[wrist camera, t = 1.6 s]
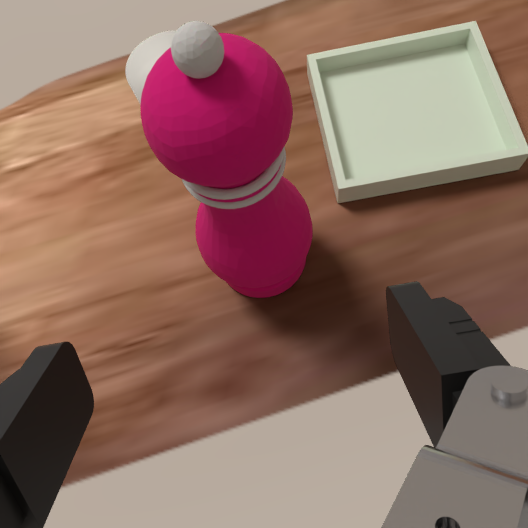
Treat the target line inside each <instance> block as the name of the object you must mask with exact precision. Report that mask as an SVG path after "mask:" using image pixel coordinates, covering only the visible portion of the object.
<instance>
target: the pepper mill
mask: <svg viewBox="0 0 528 528" xmlns="http://www.w3.org/2000/svg"><path fill="white" fill-rule="evenodd" d="M292 115H293V108H292V101H291V95H290V90H289V87H288V84H287V82H286V80H285V77H284V75H283V73H282V71H281V69H280V67H279V66H278V64H277V63H276V61H275V60H274V59H273V58H272V57H271V56H270V55H269V54H268V53H267V52H266V51H265V50H264V49H263V48H262V47H260V46H259V45H257V44H255V43H253V42H251V41H250V40H248V39H246V38H244V37H241V36H237V35H233V34H228V33H218V32H217V31H216V29H215V28H213V27H212V26H211V25H209V24H207V23H205V22H201V21H191V22H188V23H185V24H184V25H182V26H181V27H180V28H179V29H178V30H177V31H176V33H175V35H174V36H173V38H172V44H171V48H169V49H168V50H166V51H165V52H164V53H163V54H162V55H161V56H160V58H159V59H158V60H157V61H156V62H155V64H154V66H153V67H152V69H151V71H150V72H149V74H148V75H147V78H146V81H145V84H144V88H143V91H142V96H141V119H142V125H143V129H144V133H145V136H146V139H147V141H148V143H149V146H150V147H151V149H152V151H153V152H154V154H155V155H156V157H157V158H158V160H159V161H160V162H161V163H162V164H163V165H164V166H165V167H166V168H167V169H168V170H169V171H170V172H172V173H173V174H175V175H176V176H178V177H180V178H181V179H182V181H183V183H184V185H185V187H186V189H187V190H188V191H189V192H190V193H191V194H192V195H193V196H194V197H195V198H196V199H197V200H199V201H200V202H201V203H200V206H199V209H198V213H197V219H196V240H197V244H198V247H199V250H200V252H201V255H202V257H203V259H204V261H205V262H206V264H207V266H208V267H209V268H210V269H211V270H212V271H213V272H214V273H215V274H216V275H217V276H218V277H220V278H221V279H223V280H225V281H226V282H227V283H228V284H229V285H230V286H231V287H232V288H233V289H234V290H236V291H237V292H239V293H241V294H243V295H246V296H249V297H256V298H266V297H271V296H275V295H278V294H280V293H282V292H284V291H286V290H287V289H288V288H290V287H291V286H292V285H293V284H294V283H295V282H296V281H297V280H298V279H299V277H300V275H301V274H302V272H303V269H304V267H305V263H306V256H307V254H308V251H309V249H310V246H311V241H312V221H311V217H310V213H309V210H308V206H307V204H306V202H305V200H304V199H303V197H302V196H301V194H300V193H299V191H298V190H297V189H296V187H295V186H294V185H293V184H292V183H291V182H290V181H288V180H287V179H286V178H284V177H283V176H282V175H283V172H284V168H285V162H286V152H285V148H284V146H285V144H286V142H287V140H288V138H289V133H290V128H291V123H292Z"/></svg>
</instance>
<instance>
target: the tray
mask: <svg viewBox="0 0 528 528" xmlns="http://www.w3.org/2000/svg"><path fill="white" fill-rule="evenodd" d="M307 74H308V79H309V83H310V87H311V92H312V96H313V100H314V105H315V109H316V113H317V117H318V122H319V126H320V130H321V135H322V139H323V143H324V147H325V152H326V156H327V160H328V165H329V169H330V173H331V178H332V182H333V186H334V190H335V195H336V199H337V203H342V202H348V201H353V200H359V199H364V198H369V197H375V196H380V195H385V194H391V193H396V192H402V191H407V190H412V189H418V188H423V187H429V186H434V185H439V184H445V183H450V182H455V181H461V180H466V179H472V178H477V177H482V176H488V175H493V174H499V173H504V172H509V171H515V170H519V169H520V167H521V166H522V165H523V163H524V162H525V160H526V159H527V158H528V145H527V143H526V140H525V138H524V136H523V133H522V131H521V129H520V126H519V124H518V121H517V119H516V117H515V114H514V112H513V109H512V107H511V105H510V102H509V100H508V97H507V95H506V93H505V90H504V88H503V85H502V83H501V81H500V78H499V76H498V73H497V71H496V69H495V66H494V64H493V61H492V59H491V57H490V54H489V52H488V49H487V47H486V45H485V42H484V40H483V37H482V35H481V33H480V30H479V28H478V25H477V23H476V21H473V22H468V23H463V24H458V25H453V26H448V27H443V28H438V29H433V30H428V31H423V32H419V33H414V34H409V35H404V36H399V37H394V38H389V39H384V40H379V41H374V42H369V43H364V44H359V45H354V46H349V47H344V48H339V49H334V50H329V51H324V52H319V53H315V54H310V55H307Z"/></svg>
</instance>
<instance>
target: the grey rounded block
mask: <svg viewBox="0 0 528 528" xmlns="http://www.w3.org/2000/svg"><path fill="white" fill-rule="evenodd" d="M176 31H177V30H174V31H165V32H161V33H158V34H155V35H153V36H151V37H149V38H147V39H145V40H144V41H143V42H141V43H140V44H139V45H138V46H137V47H136V48H135V49H134V50H133V52H132V53H131V55H130V56H129V58H128V61H127V64H126V78H127V81H128V83H129V85H130V87H131V89H132V90H133V92H134V94H135V96H136V98H137V99H138V101H139V103H140V105H141V96H142V91H143V88H144V84H145V81H146V78H147V75H148V74H149V72H150V71H151V69H152V67H153V66H154V64H155V62H156V61H157V60H158V59H159V58H160V56H161V55H162V54H163V53H164V52H165V51H166V50H168V49H169V48H171V44H172V38H173V36H174V35H175V33H176Z"/></svg>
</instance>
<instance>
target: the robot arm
mask: <svg viewBox="0 0 528 528" xmlns="http://www.w3.org/2000/svg"><path fill="white" fill-rule="evenodd" d="M386 300H387V311H388V322H389V334H390V343H391V349H392V353H393V357H394V360H395V363H396V366H397V368H398V370H399V372H400V374H401V377H402V379H403V381H404V383H405V385H406V387H407V389H408V392H409V394H410V396H411V398H412V400H413V402H414V405H415V407H416V409H417V411H418V413H419V415H420V418H421V420H422V422H423V424H424V426H425V428H426V430H427V433H428V435H429V437H430V439H431V441H432V443H433V445H434V447H432V446H429V445H425V446H424V447H423V448H422V449H421V450H420V452H419V453H418V455H417V457H416V459H415V461H414V463H413V465H412V467H411V469H410V471H409V473H408V475H407V477H406V479H405V481H404V483H403V485H402V487H401V489H400V491H399V493H398V495H397V497H396V500H395V501H394V503H393V505H392V507H391V509H390V511H389V513H388V515H387V518H386V519H385V521H384V523H383V525H382V528H528V370H525V369H522V368H517V367H512V366H510V364H509V363H508V362H507V361H506V360H505V358H504V357H503V356H502V355H501V354H500V352H499V351H498V350H497V349H496V347H495V346H494V345H493V344H492V343H491V341H490V340H489V339H488V338H487V337H486V335H485V334H484V333H483V332H481V331H480V328H479V327H478V326H477V324H476V323H475V322H474V321H472V318H471V317H470V316H469V315H468V314H467V312H466V311H465V310H464V309H463V307H462V306H460V305H458V304H456V303H454V302H452V301H450V300H448V299H447V298H445V297H442V298H436V299H431V298H430V297H429V295H428V294H427V293H426V291H425V290H424V289H423V287H422V286H421V284H420V283H419V282H417V281H416V282H411V283H405V284H399V285H393V286H388V287H387V288H386ZM93 408H94V399H93V393H92V389H91V387H90V384H89V382H88V380H87V377H86V375H85V372H84V370H83V367H82V365H81V363H80V360H79V358H78V355H77V353H76V351H75V348H74V347H73V345H72V344H71V343H70V342H61V343H55V344H49V345H44V346H38V347H36V348H35V349H34V350H33V352H32V353H31V355H30V356H29V357H28V359H27V360H26V361H25V363H24V364H23V366H22V367H21V368H20V369H18V370H17V371H16V372H15V373H13V374H12V375H11V376H10V377H9V378H7V379H6V380H5V381H4V382H2V383H1V384H0V528H43V526H44V524H45V522H46V519H47V517H48V515H49V513H50V510H51V508H52V505H53V503H54V501H55V499H56V496H57V494H58V492H59V490H60V487H61V485H62V483H63V480H64V478H65V476H66V474H67V471H68V469H69V467H70V464H71V462H72V460H73V457H74V455H75V453H76V451H77V448H78V446H79V444H80V441H81V439H82V437H83V434H84V432H85V430H86V428H87V425H88V423H89V421H90V418H91V416H92V413H93Z"/></svg>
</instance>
